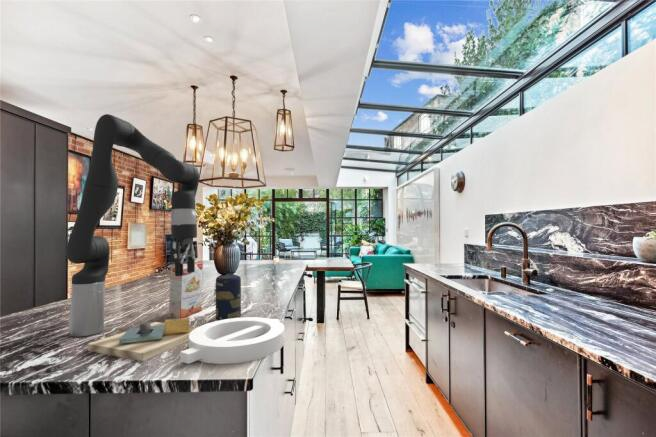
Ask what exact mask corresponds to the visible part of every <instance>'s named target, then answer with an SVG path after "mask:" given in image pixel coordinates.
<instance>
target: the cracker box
mask: <svg viewBox="0 0 656 437" xmlns="http://www.w3.org/2000/svg"><path fill="white" fill-rule="evenodd" d="M182 264H183V276H175V265H171V266H170V274H169V275H170V276H169V278H170V280H169V305H168V306H169V307H168V310H169V311H168V319H170V313H172V312H177V318H186V317H189V316H190V315H192V314H193V315H194V314H195V313H198V312H200V311H202V306H203V305H202V304H203V303H202V300H203V299H202V298H203V264H204V263H202V262H195V272H192V273H188V272H187V263H182Z"/></svg>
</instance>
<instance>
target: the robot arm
mask: <svg viewBox="0 0 656 437" xmlns="http://www.w3.org/2000/svg"><path fill="white" fill-rule="evenodd" d="M114 146H116V147H123V148H126V149H128V150H131V151H134V152H136V153H137V154H138V155H139V156H140V157H141V159H142V160H143V161H144V162H145V163H147V164H148V165H150V166H151V167H153V168H154V169H156V170H157V171H158V172H160V174H161V175H162V176H163V178H165V179H167V180H168V181H170V182H172V183H176V184H180V188H179V189H178V190H177V191H174V192H172V193H171V214H170V229H171V230H170V232H171V233H170V234H171V235H170V236H171V239H172V240H176V241H174V242H170V247H169V249H170V252H169V253H170V254H169V255H170V256H169V258H170V259H169V261H170V263H173V265H174V266H175V276H183V264H184V260H185V259H186V261H187V262H186V264H187V272H188V273H192V272H195V263H196V262H195V261H197V260H196V259H198V258H199V256H198V255H199V254H198V252H199V251H198V241H197V240H193V239H196V238H197V237H198V223H197V222H198V221H197V211H196V209H197V208H196V196H197V192H198V187H199V184H200V172H199V169H198V167H196V165H194V164H192V163H188V162H184V161H181V160H180V159H179V160H178V159H177V158H176V156H175V155H174V154H173V153H171V152H170V151H168V150H167V149H165V148H163V147H161V145H159V144H157V143H155V142H153V141H152V140H151V139H149V138H148V137H147V136H145V135H144V134H143V133H142V132H141V131H140V130H139V129H137V127H136V126H134V125H133V124H132V123H130V122H129V121H126V120H125V119H122V118H120V117H118V116H115V115H112V114H109V113H105V114H103V115H101V116H100V117H99V118H98V120H97V122H96V124H95V128H94V135H93V142H92V149H91V151H92V152H91V157H90V162H89V166H88V171H87V176H86V179H85V182H84V186H83V190H82V197H81V201H80V204H79V207H78V211H77V216H76V217H75V218H76V219H75V221H74V224H73V227H72V228H71V233H70V234H69V235H70V236H69V238H68V240H67V243H66V249H65V254H66V258H67V260H68V261H69V262H71V263H72V264H77V265H78V264H84V265H83V267H82V268H81V269H80V270H79V271H78V272H76V273H74V274H73V275H72V277H71V294H70V295H71V298H70V300H71V301H70V305H69V317H68V318H69V319H68V320H69V322H68V323H69V325H68V326H69V327H68V334H69V335H70V337H76V338H77V337H88V336H93V335H96V334H100V333H102V332H103V331H104V330H105V312H106V311H105V306H106V305H105V304H106V302H105V301H106V276H107V274H108V272H109V267H110V266H109V264H110V252H111V251H110V243H109V241H108V240H107V238H105V237H104V236H100V235H95V231H96V228H97V225H98V224H99V222H101V220H102V218H103V217H104V216H105V215H106V214H107V213H108V211H109V210H110V209H111V208H112V206H113V205H114V203H115V202H116V197H117V194H118V188H119V179H118V176H117V175H118V174H117V173H116V172H117V171H116V169H115V167H114V163H113V158H112V155H113V148H114Z"/></svg>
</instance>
